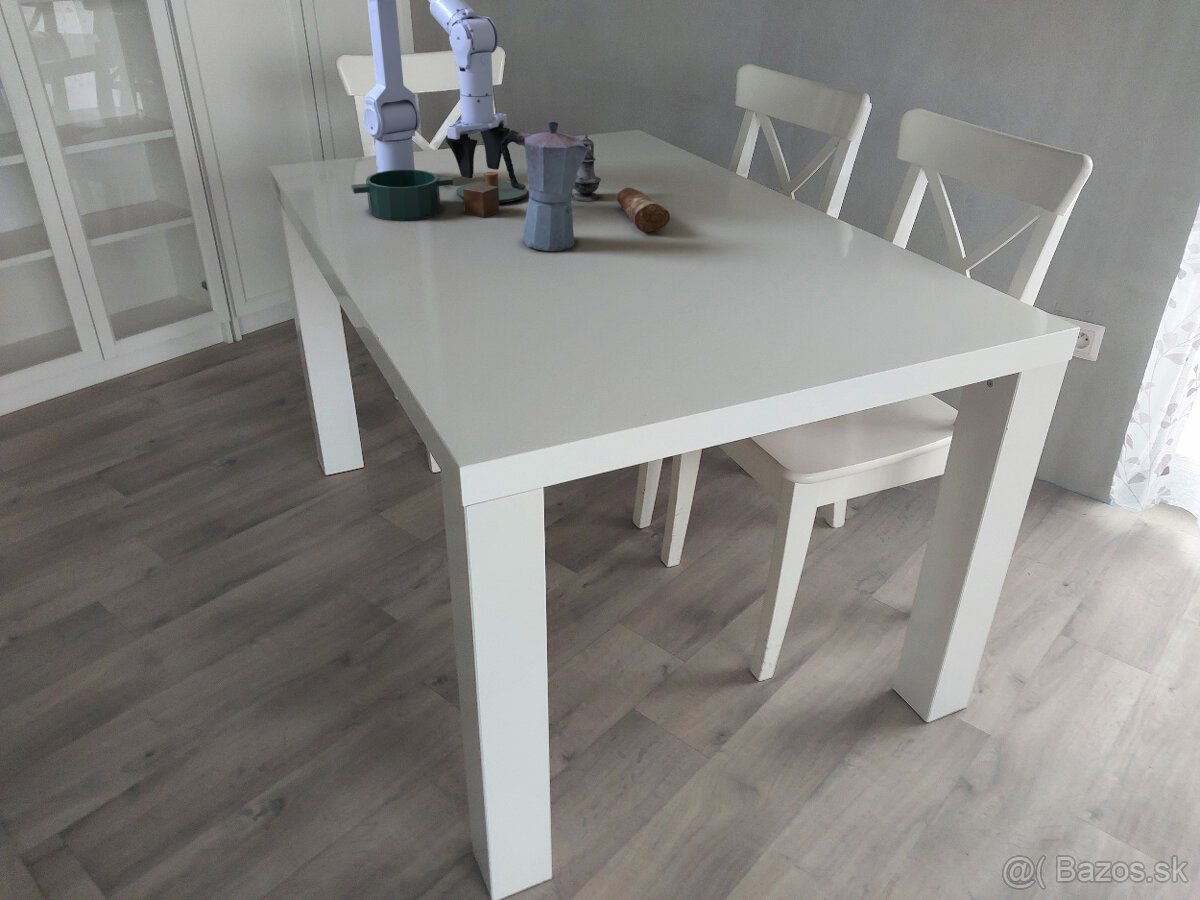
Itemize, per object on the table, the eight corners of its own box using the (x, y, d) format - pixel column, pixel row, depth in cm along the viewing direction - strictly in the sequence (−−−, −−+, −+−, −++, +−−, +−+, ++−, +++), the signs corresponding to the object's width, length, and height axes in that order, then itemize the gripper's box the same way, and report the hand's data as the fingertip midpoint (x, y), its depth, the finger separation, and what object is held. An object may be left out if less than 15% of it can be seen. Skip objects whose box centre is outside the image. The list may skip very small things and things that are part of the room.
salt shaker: (600, 201, 181) (601, 138, 175) (569, 201, 181) (570, 137, 175) (600, 193, 186) (602, 131, 180) (571, 192, 186) (571, 130, 180)
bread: (635, 237, 162) (636, 205, 160) (612, 206, 179) (613, 176, 176) (670, 235, 164) (672, 203, 161) (644, 204, 180) (645, 175, 177)
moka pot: (584, 256, 153) (585, 130, 143) (494, 249, 156) (489, 124, 146) (596, 238, 161) (598, 118, 151) (510, 231, 164) (506, 112, 154)
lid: (448, 189, 186) (447, 167, 184) (514, 183, 191) (513, 162, 188) (467, 208, 175) (466, 185, 173) (537, 202, 180) (536, 179, 178)
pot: (349, 205, 176) (345, 173, 172) (444, 196, 182) (442, 166, 179) (362, 225, 165) (358, 191, 162) (462, 215, 172) (460, 182, 169)
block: (464, 213, 173) (462, 188, 170) (479, 207, 176) (478, 182, 174) (484, 217, 171) (482, 192, 168) (499, 211, 174) (498, 186, 172)
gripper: (468, 103, 156) (472, 184, 163) (519, 90, 166) (521, 168, 173) (435, 98, 159) (441, 178, 166) (488, 86, 169) (491, 162, 176)
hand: (480, 173), depth 170 cm, fingers open, 7 cm apart
